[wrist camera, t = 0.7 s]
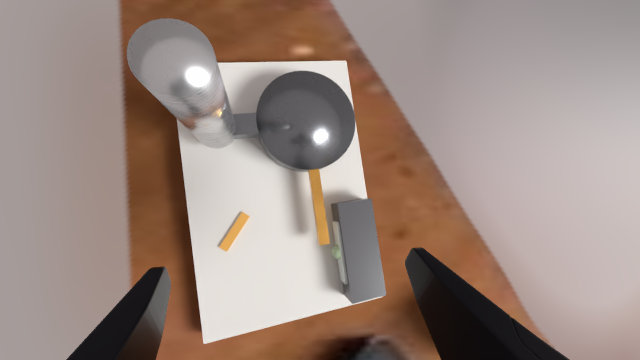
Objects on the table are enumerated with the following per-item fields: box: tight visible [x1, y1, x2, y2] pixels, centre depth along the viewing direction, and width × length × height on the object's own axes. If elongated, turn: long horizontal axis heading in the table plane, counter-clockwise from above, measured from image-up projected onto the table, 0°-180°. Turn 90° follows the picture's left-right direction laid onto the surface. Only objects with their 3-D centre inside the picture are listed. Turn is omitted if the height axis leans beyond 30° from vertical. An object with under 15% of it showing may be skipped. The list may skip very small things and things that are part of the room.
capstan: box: [127, 19, 355, 245], centre depth 16 cm, size 14×12×11 cm
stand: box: [177, 61, 386, 344], centre depth 21 cm, size 22×15×4 cm
